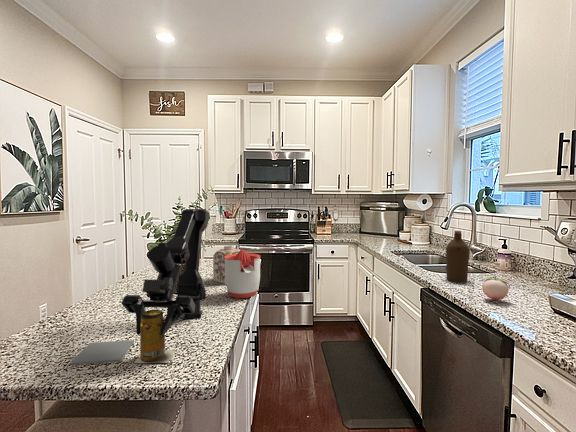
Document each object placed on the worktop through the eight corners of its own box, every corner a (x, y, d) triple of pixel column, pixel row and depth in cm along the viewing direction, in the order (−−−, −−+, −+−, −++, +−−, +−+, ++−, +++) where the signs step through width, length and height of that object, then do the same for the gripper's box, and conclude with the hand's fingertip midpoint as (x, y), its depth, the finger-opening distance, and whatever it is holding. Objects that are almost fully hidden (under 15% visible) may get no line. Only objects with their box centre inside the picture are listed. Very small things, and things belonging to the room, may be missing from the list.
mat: (90, 344, 97) (90, 342, 97) (134, 341, 99) (134, 340, 99) (69, 364, 85) (69, 363, 85) (120, 361, 87) (120, 359, 87)
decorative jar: (212, 281, 170) (212, 245, 169) (230, 277, 179) (230, 243, 178) (228, 285, 162) (227, 248, 162) (246, 280, 171) (245, 245, 170)
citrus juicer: (230, 303, 134) (230, 253, 133) (220, 292, 150) (220, 247, 149) (267, 298, 141) (267, 251, 139) (254, 288, 156) (253, 245, 155)
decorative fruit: (482, 302, 135) (482, 277, 134) (481, 296, 142) (481, 273, 142) (510, 305, 131) (510, 280, 130) (507, 299, 138) (508, 275, 137)
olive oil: (473, 282, 167) (474, 231, 165) (454, 283, 165) (455, 232, 164) (459, 277, 177) (460, 229, 176) (440, 278, 175) (441, 230, 174)
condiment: (145, 350, 93) (145, 307, 92) (176, 351, 93) (176, 308, 92) (133, 363, 85) (133, 317, 85) (167, 364, 85) (167, 317, 85)
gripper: (124, 265, 92) (100, 320, 82) (191, 266, 91) (176, 321, 81) (138, 287, 100) (119, 338, 90) (200, 287, 100) (188, 340, 89)
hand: (149, 334), depth 87 cm, fingers closed on condiment, 6 cm apart
